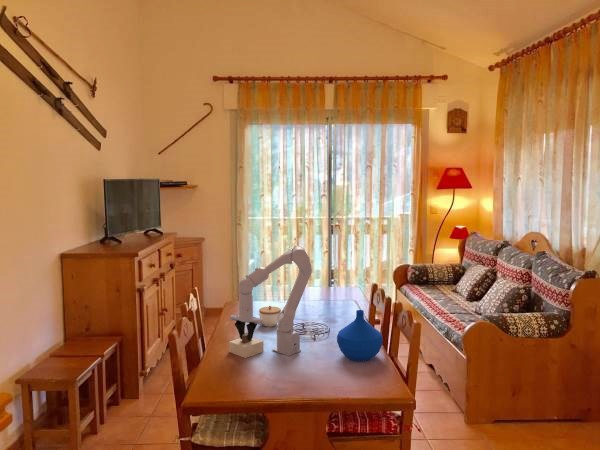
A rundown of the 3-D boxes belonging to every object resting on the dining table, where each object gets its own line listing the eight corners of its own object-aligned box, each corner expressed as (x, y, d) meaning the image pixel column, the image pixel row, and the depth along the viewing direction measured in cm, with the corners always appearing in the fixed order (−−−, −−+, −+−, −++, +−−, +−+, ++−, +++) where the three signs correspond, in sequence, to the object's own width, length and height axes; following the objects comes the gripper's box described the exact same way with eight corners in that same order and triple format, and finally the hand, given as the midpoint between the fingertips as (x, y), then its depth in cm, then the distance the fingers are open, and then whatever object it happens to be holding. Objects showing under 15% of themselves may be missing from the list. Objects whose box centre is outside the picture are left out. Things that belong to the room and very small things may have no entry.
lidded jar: (255, 326, 231) (254, 307, 230) (266, 320, 241) (266, 302, 240) (273, 329, 226) (273, 310, 226) (284, 323, 236) (284, 304, 235)
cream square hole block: (263, 351, 198) (263, 340, 197) (245, 358, 190) (245, 347, 190) (247, 345, 204) (247, 335, 204) (229, 352, 197) (229, 341, 197)
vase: (344, 367, 181) (344, 319, 179) (331, 350, 199) (331, 306, 197) (389, 364, 184) (390, 316, 182) (373, 347, 202) (373, 303, 200)
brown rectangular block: (250, 349, 199) (250, 333, 198) (246, 352, 195) (246, 335, 195) (246, 348, 199) (246, 332, 199) (242, 351, 196) (242, 335, 196)
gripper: (266, 306, 196) (266, 338, 197) (236, 302, 202) (236, 333, 204) (257, 311, 190) (257, 344, 191) (227, 307, 196) (227, 338, 197)
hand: (246, 339), depth 197 cm, fingers open, 3 cm apart
